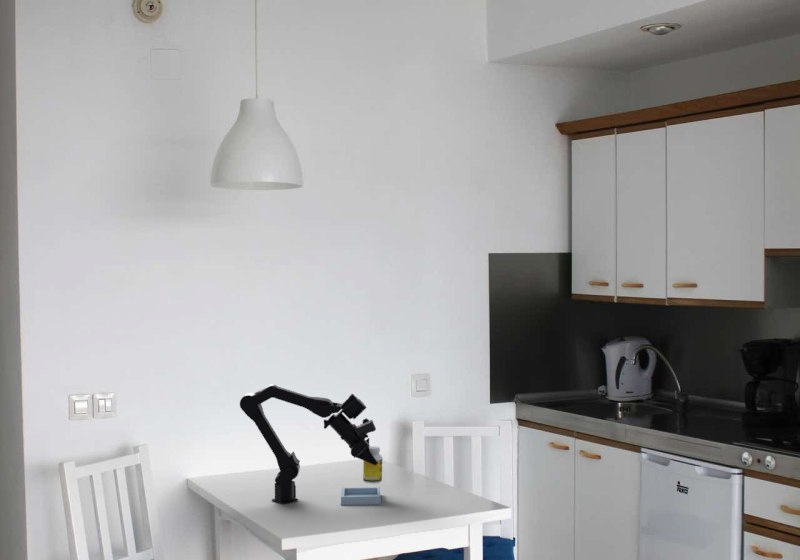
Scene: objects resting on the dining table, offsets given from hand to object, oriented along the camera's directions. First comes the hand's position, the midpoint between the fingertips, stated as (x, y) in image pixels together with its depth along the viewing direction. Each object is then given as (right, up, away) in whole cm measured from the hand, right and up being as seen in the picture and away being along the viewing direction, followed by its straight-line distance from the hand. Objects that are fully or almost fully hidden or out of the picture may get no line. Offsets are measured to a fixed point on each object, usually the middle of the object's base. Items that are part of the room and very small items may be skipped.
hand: (376, 462), depth 308 cm
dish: (-5, -13, 0) cm, 14 cm away
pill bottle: (-1, -7, 0) cm, 7 cm away
